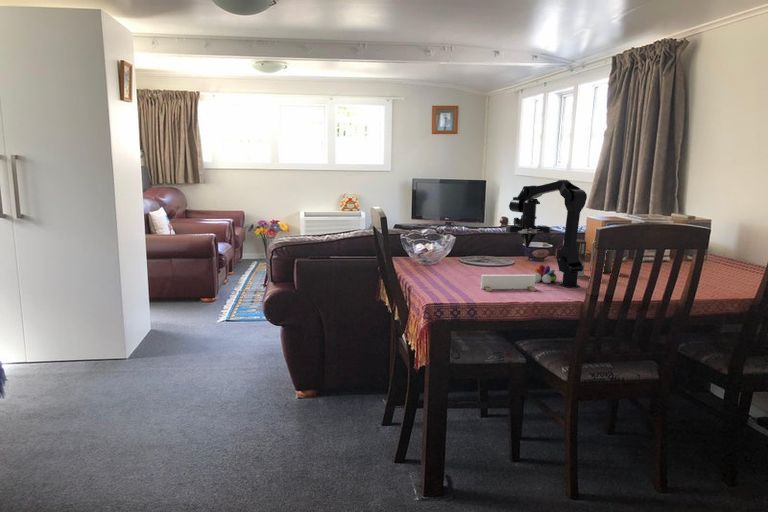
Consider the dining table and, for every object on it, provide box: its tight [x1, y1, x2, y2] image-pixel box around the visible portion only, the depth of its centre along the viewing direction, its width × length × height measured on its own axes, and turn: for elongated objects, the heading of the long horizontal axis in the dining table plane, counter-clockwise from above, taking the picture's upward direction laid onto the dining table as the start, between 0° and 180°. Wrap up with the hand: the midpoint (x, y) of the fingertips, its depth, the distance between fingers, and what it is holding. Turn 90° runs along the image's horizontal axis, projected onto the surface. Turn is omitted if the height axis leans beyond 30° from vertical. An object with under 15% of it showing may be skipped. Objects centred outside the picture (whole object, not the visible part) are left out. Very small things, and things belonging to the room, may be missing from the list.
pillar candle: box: [589, 241, 614, 274], centre depth 252 cm, size 10×10×15 cm
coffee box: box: [560, 238, 587, 277], centre depth 242 cm, size 9×6×16 cm
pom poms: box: [533, 264, 558, 284], centre depth 227 cm, size 8×10×7 cm
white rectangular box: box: [480, 274, 537, 292], centre depth 211 cm, size 6×22×6 cm, turn 97°
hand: (526, 247), depth 241 cm, fingers closed
